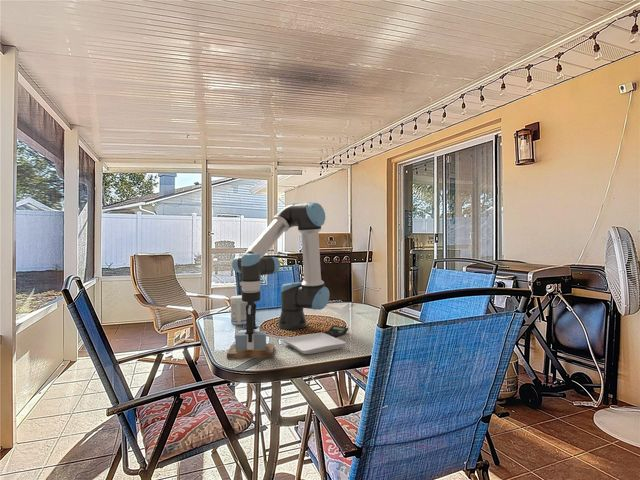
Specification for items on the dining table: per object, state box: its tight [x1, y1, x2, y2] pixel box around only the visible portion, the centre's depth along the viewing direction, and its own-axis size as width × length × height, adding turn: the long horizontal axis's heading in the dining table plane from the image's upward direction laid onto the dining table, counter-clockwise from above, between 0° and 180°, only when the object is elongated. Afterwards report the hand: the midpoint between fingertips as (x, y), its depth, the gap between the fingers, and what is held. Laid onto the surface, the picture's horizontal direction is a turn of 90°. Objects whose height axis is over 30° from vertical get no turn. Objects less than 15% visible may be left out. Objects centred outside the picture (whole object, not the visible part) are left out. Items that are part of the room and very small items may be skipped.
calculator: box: [322, 324, 349, 339], centre depth 184 cm, size 9×12×3 cm
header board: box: [226, 343, 275, 359], centre depth 156 cm, size 18×12×6 cm, turn 94°
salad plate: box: [282, 332, 347, 355], centre depth 164 cm, size 21×21×3 cm
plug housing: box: [234, 330, 267, 350], centre depth 155 cm, size 12×6×6 cm, turn 94°
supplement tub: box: [230, 294, 248, 326], centre depth 208 cm, size 10×10×15 cm
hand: (251, 347), depth 156 cm, fingers closed on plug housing, 5 cm apart
